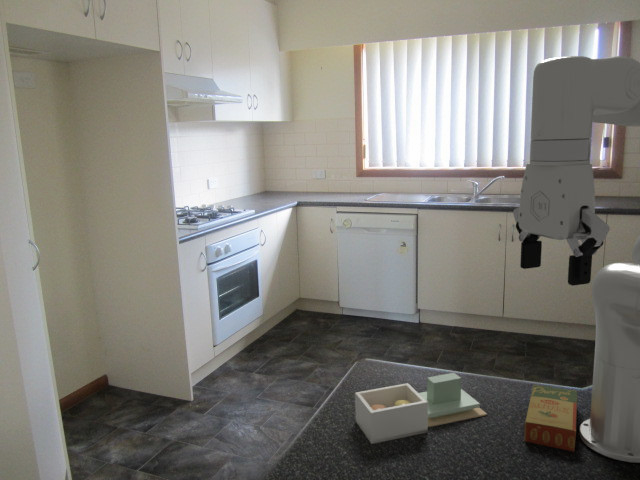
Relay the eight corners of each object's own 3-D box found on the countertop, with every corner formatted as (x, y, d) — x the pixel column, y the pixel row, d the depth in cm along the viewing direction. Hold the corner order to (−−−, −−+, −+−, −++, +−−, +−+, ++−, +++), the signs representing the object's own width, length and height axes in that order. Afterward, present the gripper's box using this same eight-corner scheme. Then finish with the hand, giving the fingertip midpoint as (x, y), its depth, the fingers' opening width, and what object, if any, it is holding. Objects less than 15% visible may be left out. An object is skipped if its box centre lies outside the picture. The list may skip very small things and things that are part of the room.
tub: (408, 411, 104) (408, 383, 103) (427, 432, 97) (427, 402, 96) (355, 421, 101) (355, 392, 100) (371, 444, 94) (371, 413, 92)
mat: (459, 392, 111) (459, 390, 111) (486, 415, 102) (486, 413, 102) (402, 402, 108) (402, 401, 108) (426, 427, 98) (426, 426, 98)
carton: (523, 443, 93) (523, 420, 92) (531, 401, 107) (532, 382, 106) (575, 453, 89) (576, 430, 89) (577, 409, 103) (578, 389, 103)
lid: (457, 393, 110) (457, 365, 109) (479, 412, 102) (480, 381, 101) (409, 402, 107) (409, 373, 106) (428, 422, 99) (428, 391, 98)
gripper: (497, 153, 79) (493, 264, 82) (585, 156, 63) (576, 295, 66) (539, 151, 81) (534, 260, 84) (635, 153, 65) (624, 288, 68)
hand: (553, 275), depth 75 cm, fingers open, 9 cm apart
